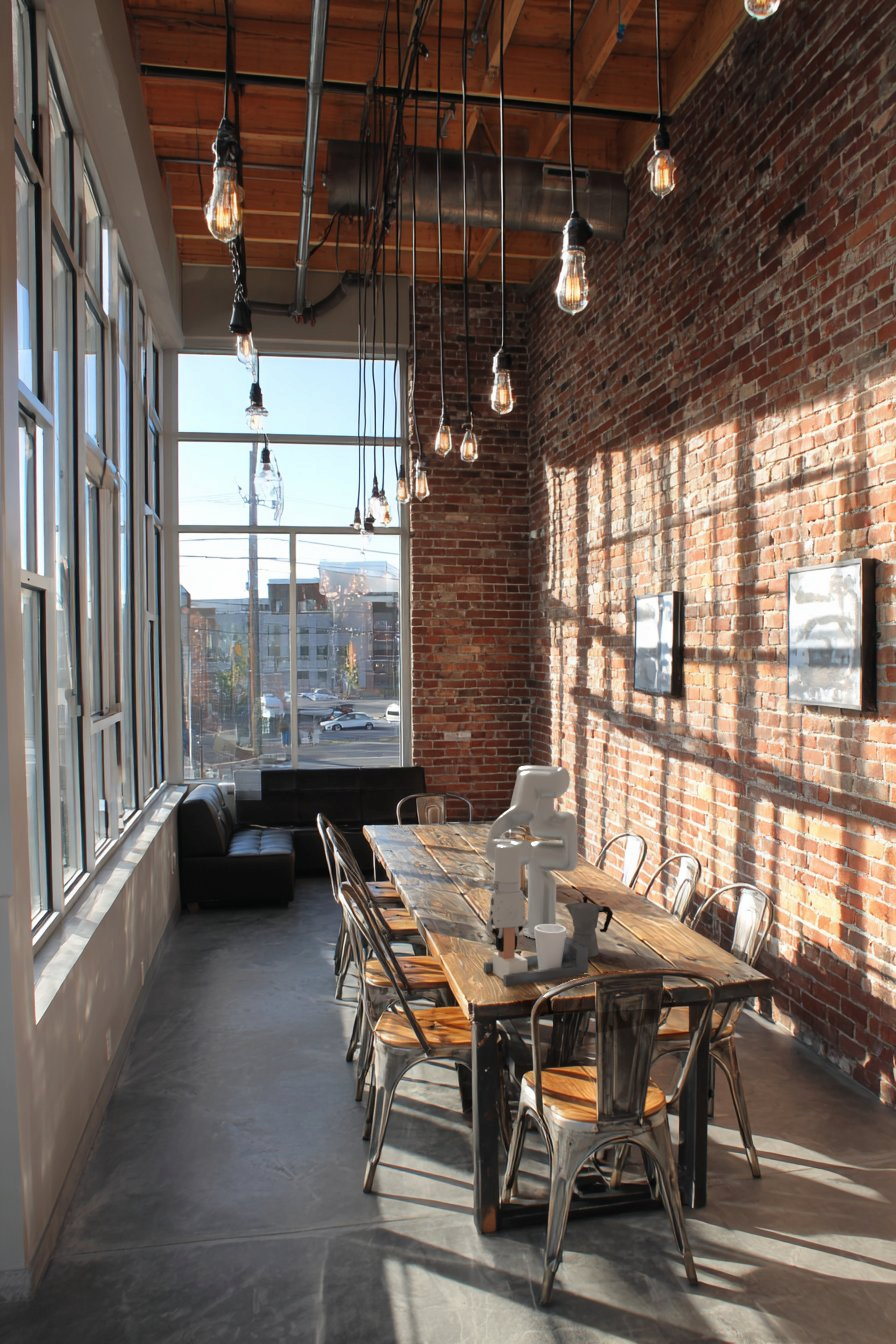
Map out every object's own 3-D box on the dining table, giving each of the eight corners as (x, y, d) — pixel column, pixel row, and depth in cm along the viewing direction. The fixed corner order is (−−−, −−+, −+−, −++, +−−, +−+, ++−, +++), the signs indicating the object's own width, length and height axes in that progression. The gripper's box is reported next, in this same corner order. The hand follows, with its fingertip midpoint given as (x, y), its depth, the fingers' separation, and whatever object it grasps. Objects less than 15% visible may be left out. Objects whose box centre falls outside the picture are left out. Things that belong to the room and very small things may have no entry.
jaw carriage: (491, 973, 279) (492, 913, 279) (510, 970, 281) (511, 911, 281) (507, 983, 270) (508, 922, 270) (527, 980, 272) (528, 919, 272)
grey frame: (483, 972, 280) (483, 945, 280) (564, 961, 292) (565, 935, 292) (505, 987, 267) (506, 959, 267) (589, 975, 279) (590, 948, 279)
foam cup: (563, 967, 286) (563, 924, 286) (568, 977, 277) (568, 932, 277) (531, 966, 286) (532, 924, 286) (535, 977, 276) (536, 932, 276)
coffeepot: (560, 954, 298) (561, 897, 298) (567, 946, 307) (568, 891, 307) (609, 961, 293) (609, 902, 293) (615, 952, 301) (615, 896, 301)
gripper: (487, 892, 268) (486, 956, 268) (538, 887, 275) (537, 950, 275) (476, 886, 275) (475, 949, 275) (525, 881, 282) (525, 943, 282)
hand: (506, 949), depth 275 cm, fingers closed on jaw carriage, 3 cm apart
